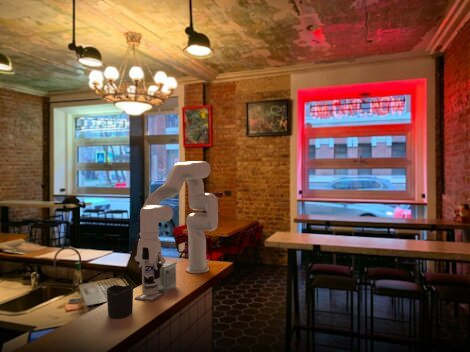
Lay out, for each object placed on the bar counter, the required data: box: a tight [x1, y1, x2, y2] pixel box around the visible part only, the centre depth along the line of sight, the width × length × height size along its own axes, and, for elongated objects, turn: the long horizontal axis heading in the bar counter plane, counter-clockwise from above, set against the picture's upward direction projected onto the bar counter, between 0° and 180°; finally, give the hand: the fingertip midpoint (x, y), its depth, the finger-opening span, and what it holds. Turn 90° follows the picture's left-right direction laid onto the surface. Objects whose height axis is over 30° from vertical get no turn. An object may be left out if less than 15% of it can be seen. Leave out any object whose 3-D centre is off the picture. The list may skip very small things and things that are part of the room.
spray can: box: [141, 247, 158, 295], centre depth 142 cm, size 7×7×20 cm
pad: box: [134, 293, 166, 303], centre depth 142 cm, size 9×9×1 cm
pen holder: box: [106, 284, 134, 320], centre depth 125 cm, size 9×9×10 cm
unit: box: [158, 260, 178, 295], centre depth 152 cm, size 10×8×12 cm
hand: (150, 277), depth 142 cm, fingers closed on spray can, 6 cm apart
